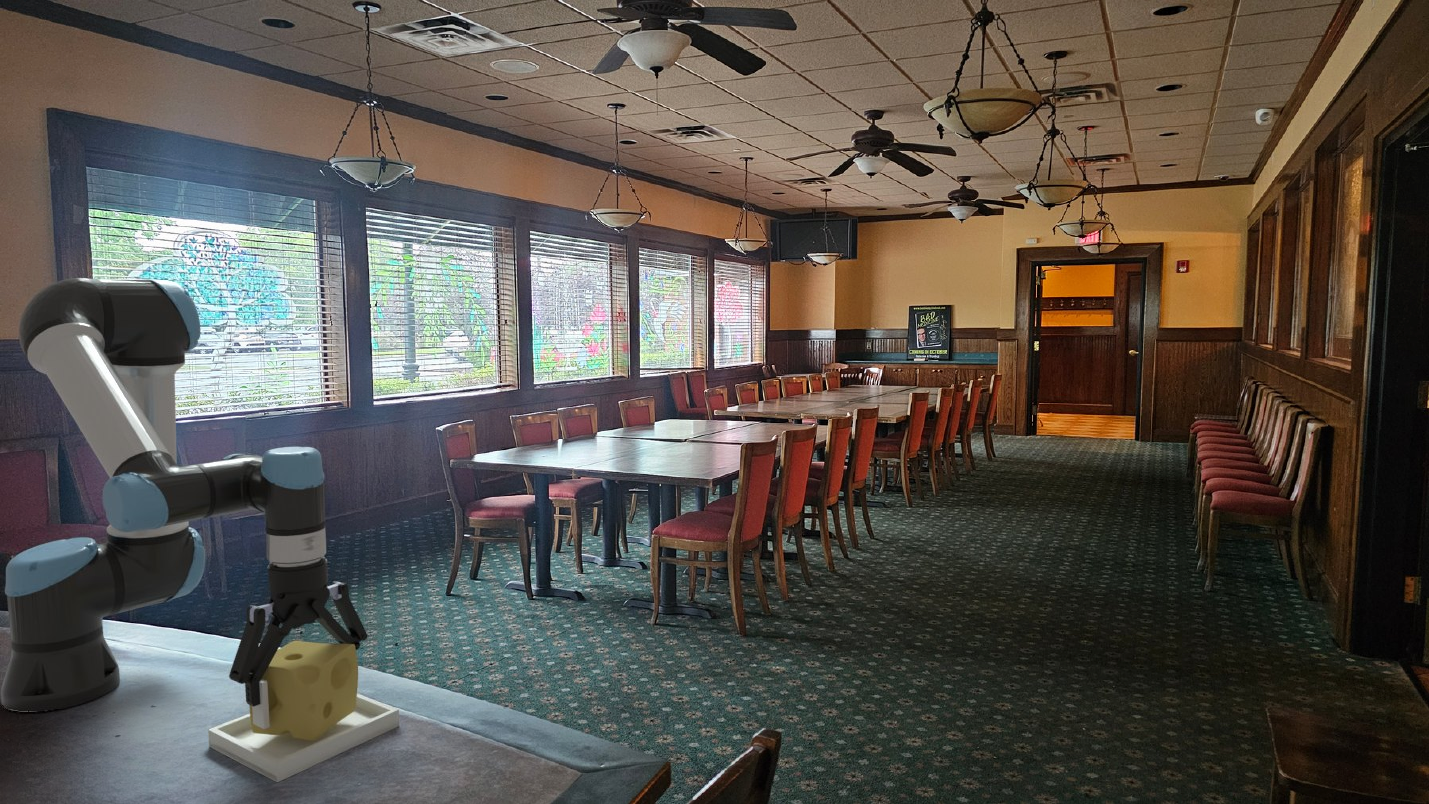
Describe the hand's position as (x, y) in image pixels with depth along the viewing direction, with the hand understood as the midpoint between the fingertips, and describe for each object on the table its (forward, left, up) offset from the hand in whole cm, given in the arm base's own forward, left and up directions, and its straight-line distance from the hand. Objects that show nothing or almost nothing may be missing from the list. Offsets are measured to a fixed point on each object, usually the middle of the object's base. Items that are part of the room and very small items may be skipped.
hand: (304, 708), depth 128 cm
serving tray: (0, 0, -4) cm, 4 cm away
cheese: (0, 0, -2) cm, 2 cm away
